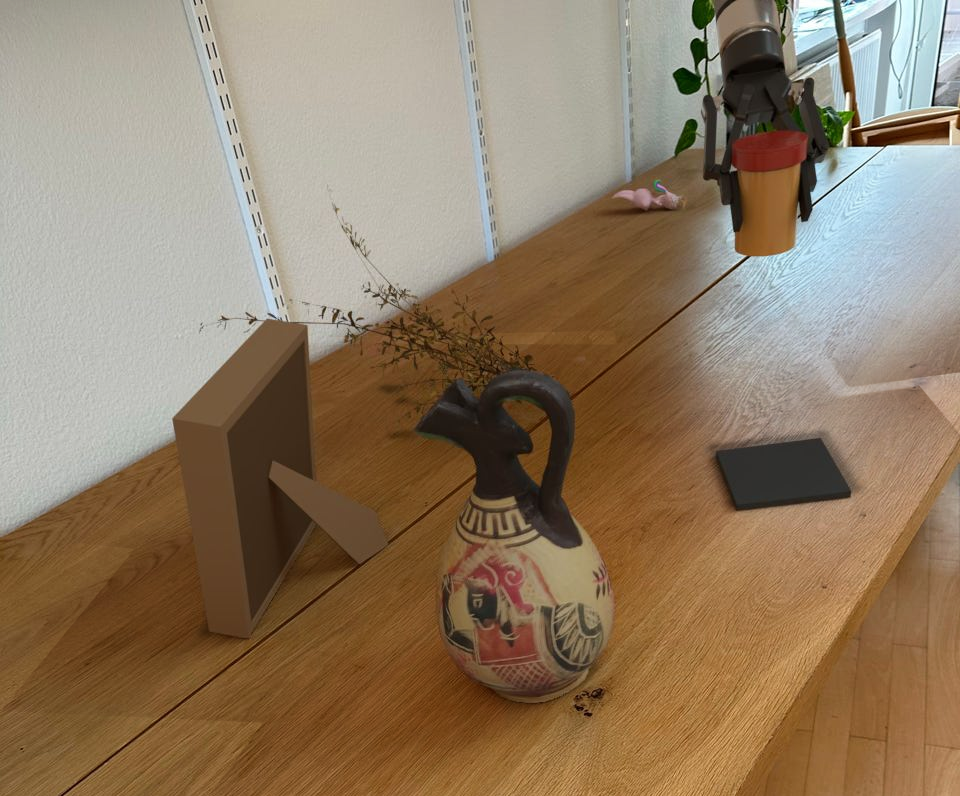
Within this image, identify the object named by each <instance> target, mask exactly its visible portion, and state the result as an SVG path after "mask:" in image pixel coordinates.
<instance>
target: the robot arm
mask: <svg viewBox="0 0 960 796" xmlns="http://www.w3.org/2000/svg"><path fill="white" fill-rule="evenodd" d="M712 2H713V3H712V4H713V9H714V15H715V16H714V17H715V28H716V36H717V45H718V53H719V58H720V69H721V70H720V71H721V77H722V79H721V80H722V86H723V87H722V88H723V91H722V93H721V94H719V95H716V96H712V95H711V94H706V95H703V98H702V103H701V109H700V115H701V118H702V120H703V124H704V137H703V138H704V140H703V141H704V142H703V160H702V161H703V163H702V179H703V181H705V182H708V181H711V180H713V181H716V185H717V186H718V187H719V194H720V202H721V204H722V206H724V207H725V206H729V209H730V215H731V216H730V217H731V224H732V231H733V232H732V233H733V234H735V232H740V229H741V225H742V222H743V216H742V208H741V200H740V192H739V184H738V176H737V169H735V170H731V169H732V167H733V166H732V144H733V143H734V142H735V141H736V140H738V139H740V138H741V135H742V132H743V129H744V126H745V127H748V126H753V125H755V124H757V123H759V124H760V123H762V124H766V123H769V124H770V125H771V127H772V128H773V130H775V131H799V132H802V130H801V128H800V126H799V125H798V123H797V122H796V120H795V119H794V117H793V116H792V114H791V113H790V110H789V106H788V104H787V102H786V100H787V99H788V97H789V96H791V97H793V101H794V104H796V105H797V106H798V105H799V106H798V111H799V115H800V118H801V122H802V125H803V128H804V131H805V134H807V135H808V144H807V157H806V159H805V160H804V161H802V162H801V173H800V188H799V203H798V209H799V215H800V222H801V223H806V222H808V221H809V220H810V217H811V215H812V213H813V210H814V208H813V201H812V193H813V192H814V191H815V189H816V187H817V184H818V177H817V170H816V164H822V163H823V162H824V161H825V158H826V156H827V154H828V152H829V148H830V143H829V141H828V137H827V135H826V131H825V127H824V125H823V122H822V119H821V115H820V112H819V108H818V106H817V102H816V99H815V96H814V91H815V79H814V78H812V77H807V78H805V80H804V81H803V82H792V80H791V79H790V78H789V76H788V74H787V72H786V62H785V56H784V55H785V54H784V48H783V42H782V41H783V40H782V39H781V38H782V32H781V25H780V24H781V23H780V17H779V11H778V4H777V3H778V1H777V0H712ZM722 107H723V108H724V109H725V110H726V111H727V112H728V113H729V114H730V115H732V117H733V118H734V121H733V124H732V128H731V131H730V134H729V137H728V140H727V143H726V148H725V150H724V153H723V158H722V161H721V164H720V163H716V153H717V151H716V149H717V127H718V116H720V113H721V109H722Z"/></svg>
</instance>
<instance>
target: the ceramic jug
mask: <svg viewBox="0 0 960 796" xmlns="http://www.w3.org/2000/svg"><path fill="white" fill-rule="evenodd" d="M526 369H527V368H526ZM526 369H525V368H519V369H512V370H509V371H505V370H504V371H502V372H503V373H501V374H500V375H498V376H496V375H495V376H493V377H491V378H492V379H491V380H488V381H489V383H488V384H487V385H486V384H485V385H486V387H485V388H484V390H483V391H482V393H481V392H480V394H479V397H480V398H479V400H478V399H477V398H476V395H475V393H474V392H473V391H472V388H471V387H470V388H469V387H468V386H467V384H466V383H467V382H464V380H465V379H464V378H463V379H462V377H458V378H457V379H455V381H453V383H452V384H451V383H450V384H449V385H448V387H447V388H446V389H445V388H444V390H445V392H444V393H442V394H440V395H441V396H439V398H437V400H436V401H434V402H435V403H433V404H432V406H430V407H429V408H428V410H427V411H426V412H425V413H423V414H424V416H423V417H422V416H421V417H422V419H421V420H420V419H419V420H418V422H417V424H416V425H415V426H414V427H413V433H414V435H417V436H418V437H420V438H423V439H428V440H435V441H443V442H445V443H448V444H450V445H452V446H454V447H456V448H459V449H463V451H465V452H466V453H468V454H469V455H470V456H471V458H472V460H473V462H474V465H475V484H474V486H473V487H472V491H471V493H470V494H469V495H468V498H467V500H465V503H464V504H463V506H462V508H461V510H460V511H459V514H457V516H456V520H455V522H454V524H453V526H452V529H451V531H450V532H449V535H448V537H447V539H446V541H445V543H444V545H443V547H442V550H441V556H440V560H439V563H438V565H437V571H436V577H435V618H436V622H437V627H438V631H439V636H440V638H441V641H442V643H443V646H444V648H445V650H446V652H447V653H448V655H449V657H450V658H451V659H452V661H453V663H454V664H455V666H456V668H457V669H459V670H460V671H461V672H462V674H465V676H466V677H467V678H469V679H471V680H472V681H473V682H474V683H477V684H480V685H482V686H484V687H486V688H488V689H491V690H492V689H493V690H494V691H496V692H497V693H498V694H499V695H501V696H502V697H505V698H507V699H506V700H508V699H509V700H508V701H511V700H514V701H519V702H524V703H536V702H543V703H546V701H547V702H549V700H550V701H552V700H555V699H557V697H558V698H560V697H562V696H564V695H566V694H567V693H569V692H570V691H572V690H574V689H575V688H577V687H578V686H579V685H581V684H582V683H583V682H584V681H585V680H586V678H587V676H588V675H589V673H590V672H589V669H590V668H591V667H592V666H593V665H594V664H595V662H596V661H597V660H598V659H599V657H600V656H601V655H602V654H603V653H604V651H605V650H606V649H607V646H608V644H609V641H610V638H611V636H612V633H613V627H614V619H615V611H616V602H615V596H614V590H613V587H612V583H611V582H612V581H611V578H610V573H609V570H608V568H607V564H606V562H605V560H604V558H603V557H602V555H601V553H600V551H599V550H598V547H597V546H596V544H595V543H594V541H593V540H592V538H591V536H590V535H589V534H588V532H587V531H586V530H585V529H584V527H583V525H581V524H580V522H579V521H578V520H577V519H576V518H575V517H574V516H573V515H572V514H571V513H570V509H569V507H568V504H567V503H566V502H565V500H564V498H563V497H562V492H563V485H564V482H565V477H566V474H567V473H566V472H567V470H568V469H567V468H568V465H569V463H570V459H571V455H572V452H573V447H574V443H575V433H576V431H575V430H576V429H575V428H576V412H575V408H574V405H573V402H572V398H571V395H570V393H569V391H568V390H567V389H566V388H565V386H563V384H561V382H559V380H558V379H555V378H554V377H553V378H552V376H551V375H548V374H547V373H544V374H543V373H542V372H540V371H534V370H531V371H529V369H528V370H526ZM514 400H519V401H520V400H521V402H526V403H529V404H532V405H534V406H536V407H537V408H538V409H540V410H542V411H543V412H544V413H545V414H546V416H547V417H548V421H549V426H550V429H551V436H550V437H551V438H550V443H549V449H548V456H547V463H546V466H545V468H544V471H543V474H542V476H541V477H542V478H541V482H540V485H539V483H538V482H537V481H536V480H533V479H532V478H531V476H530V475H529V474H528V473H527V471H526V470H525V469H524V467H523V465H522V464H521V461H520V460H519V459H520V458H519V456H520V455H530V454H531V453H533V451H534V443H533V440H532V438H531V435H530V434H529V433H528V432H527V431H526V429H524V427H522V426H521V425H520V424H519V423H518V422H517V421H516V420H515V418H513V417H512V416H511V415H510V413H509V412H508V411H507V410H506V409H505V407H504V406H503V404H505V403H506V402H511V401H512V402H513V401H514ZM493 690H492V691H493ZM494 691H493V692H494ZM497 693H496V694H497ZM565 693H566V694H565ZM498 694H497V695H498ZM563 694H564V695H563ZM499 695H498V696H499ZM501 696H500V697H501ZM559 696H560V697H559ZM502 697H501V698H502ZM505 698H504V699H505ZM554 698H555V699H554ZM524 703H523V704H524Z"/></svg>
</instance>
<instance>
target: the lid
mask: <svg viewBox="0 0 960 796" xmlns="http://www.w3.org/2000/svg"><path fill="white" fill-rule="evenodd" d="M808 143H809V141H808V135H807V134H806V132H804V131H801V132H799V131H777V130H771V131H763V132H758V133H757V132H756V133H753V134H749V135H746V136H742V137H740V139H738V140H736V141H735V142H734V143H733V144H732V166H731V167H733V168H734V169H735V170H737V169H739V170H745V171H767V170H775V169H781V168H786V167H790V166H793V165H796V164H798V163H801V162H802V161H804V160H805V159H806V157H807V144H808Z"/></svg>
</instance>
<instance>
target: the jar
mask: <svg viewBox="0 0 960 796" xmlns="http://www.w3.org/2000/svg"><path fill="white" fill-rule="evenodd" d="M736 170H737V176H738V184H739V192H740V200H741V208H742V216H743V222H742V225H741V229H740V232H735V233H734V251H735V253H737V254H739V255H742V256H744V257H745V256H746V257H755V258H757V257H759V258H760V257H761V258H762V257H772V256H776V255H781V254H784V253H786V252H787V253H788V252H789V251H791V250H792V249H794V248H795V247H796V245H797V233H798V232H797V231H798V215H799V188H800V173H801V163H798V164H796V165H793V166H790V167H786V168H781V169H775V170H767V171H745V170H739V169H736Z"/></svg>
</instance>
